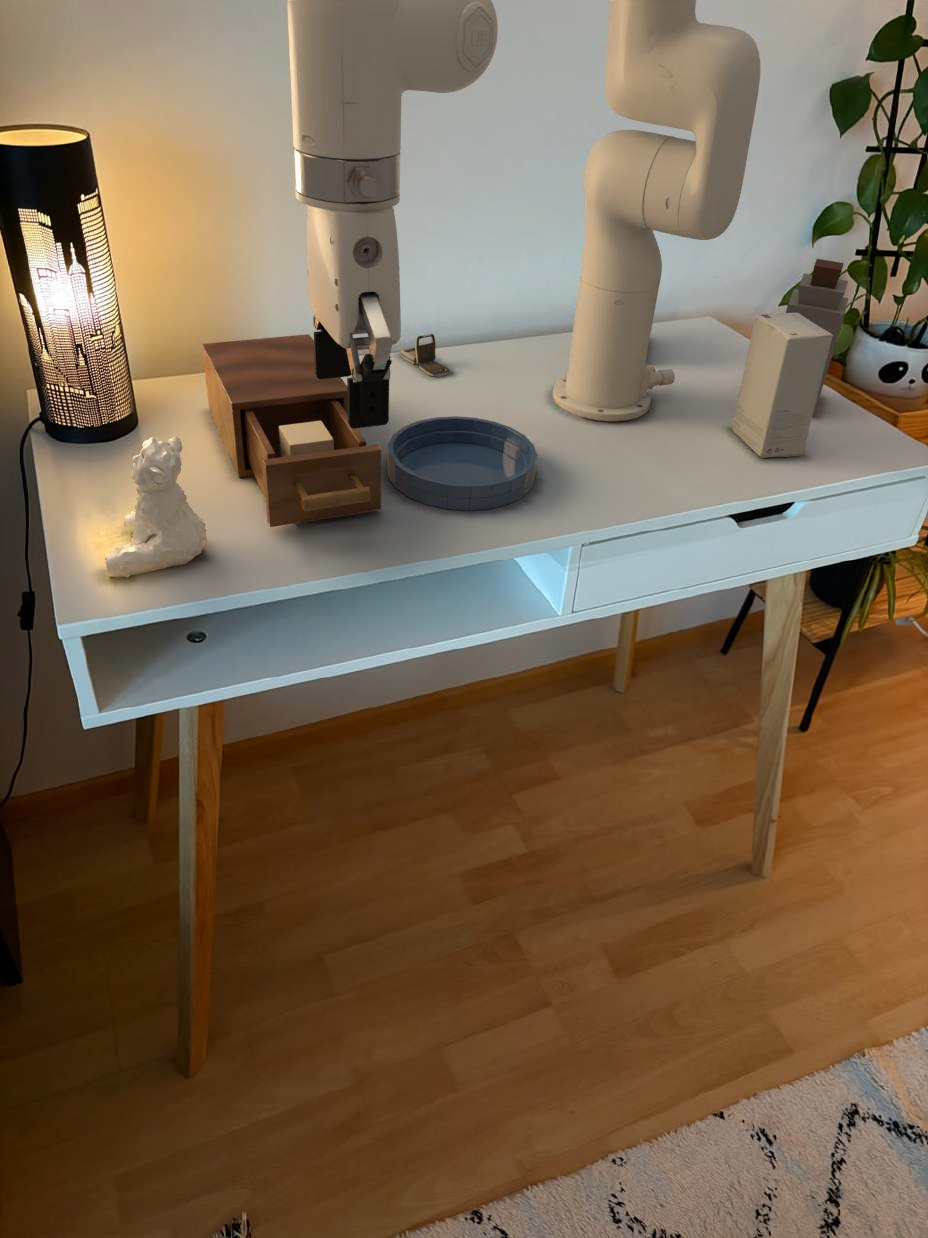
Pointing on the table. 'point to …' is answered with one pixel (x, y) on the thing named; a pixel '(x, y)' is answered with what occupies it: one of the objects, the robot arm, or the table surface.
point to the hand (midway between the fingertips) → (350, 399)
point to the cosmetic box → (780, 384)
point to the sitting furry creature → (158, 515)
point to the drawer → (311, 464)
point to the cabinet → (261, 383)
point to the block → (304, 438)
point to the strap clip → (424, 357)
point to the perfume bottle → (822, 302)
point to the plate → (461, 463)
